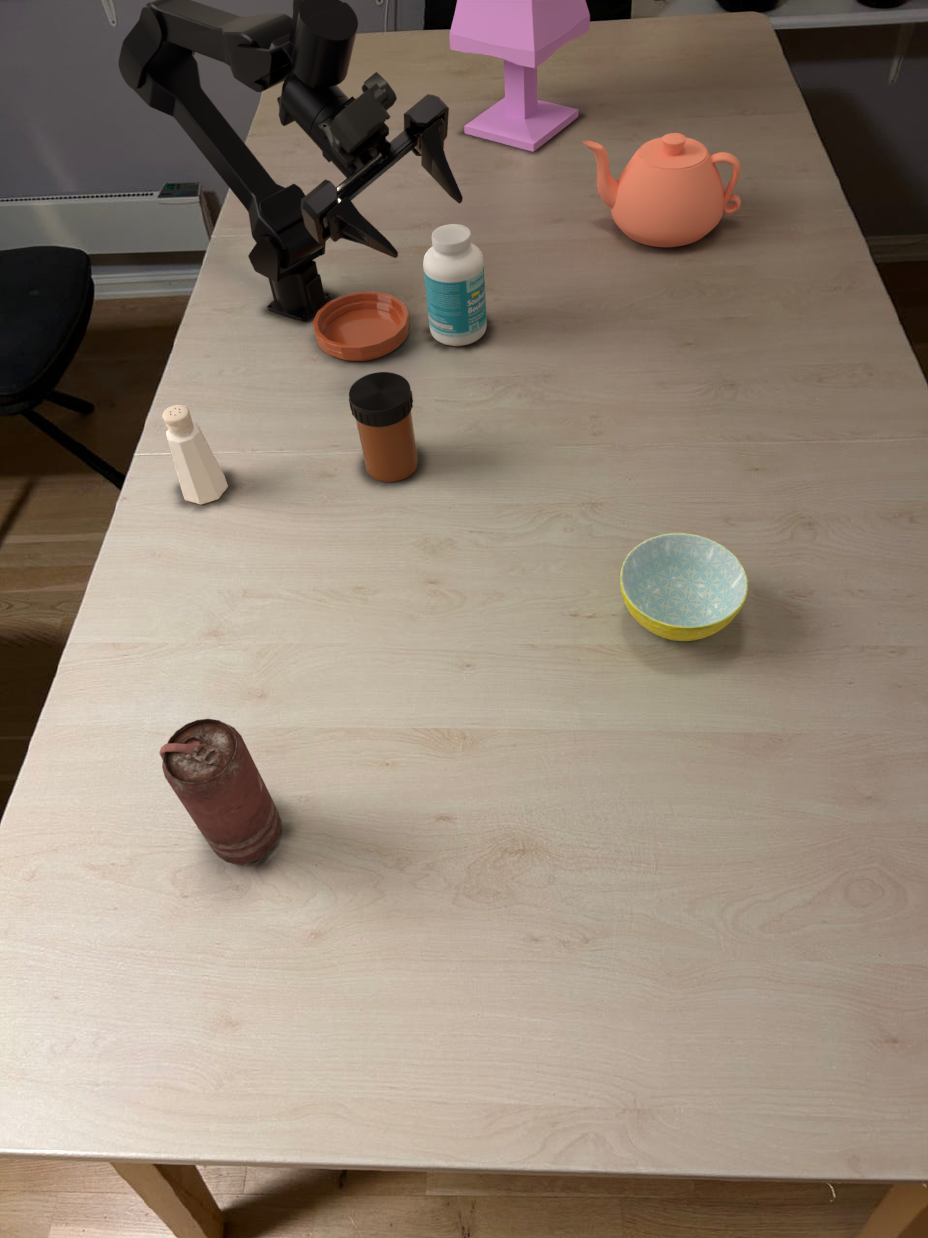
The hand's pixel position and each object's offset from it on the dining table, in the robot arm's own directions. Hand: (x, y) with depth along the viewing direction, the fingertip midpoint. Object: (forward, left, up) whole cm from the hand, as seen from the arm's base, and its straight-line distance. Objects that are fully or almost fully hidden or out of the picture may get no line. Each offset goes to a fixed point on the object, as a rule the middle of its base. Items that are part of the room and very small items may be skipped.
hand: (429, 227), depth 99 cm
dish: (-15, +4, -20) cm, 25 cm away
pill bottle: (-4, +10, -20) cm, 23 cm away
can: (+16, -59, -20) cm, 65 cm away
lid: (+2, -15, -10) cm, 18 cm away
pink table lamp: (-24, +64, -20) cm, 71 cm away
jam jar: (+2, -15, -20) cm, 25 cm away
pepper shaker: (-15, -28, -20) cm, 38 cm away
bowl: (+39, -21, -20) cm, 49 cm away
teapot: (+9, +44, -20) cm, 49 cm away
